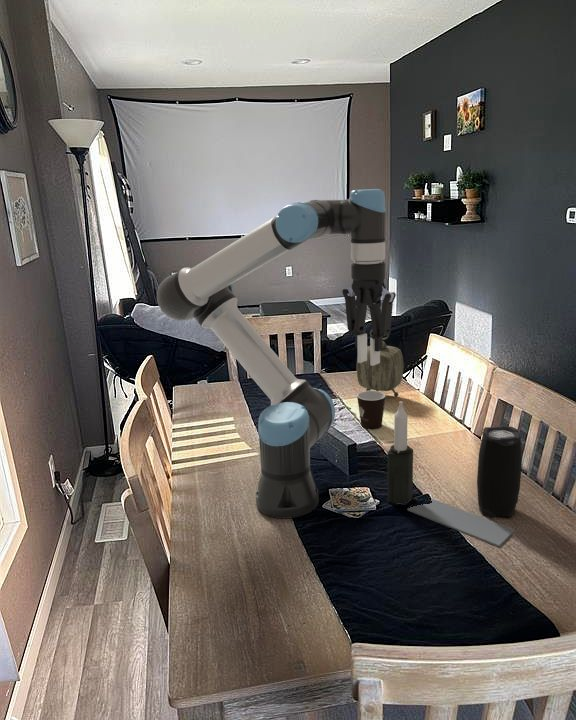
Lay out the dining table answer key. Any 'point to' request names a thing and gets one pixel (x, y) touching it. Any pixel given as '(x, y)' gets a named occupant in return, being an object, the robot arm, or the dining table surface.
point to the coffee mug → (371, 409)
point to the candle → (400, 461)
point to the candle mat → (464, 522)
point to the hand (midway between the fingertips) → (368, 362)
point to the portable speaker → (499, 471)
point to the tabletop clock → (382, 370)
